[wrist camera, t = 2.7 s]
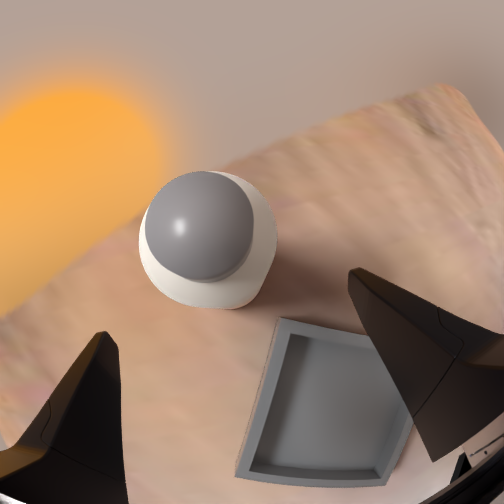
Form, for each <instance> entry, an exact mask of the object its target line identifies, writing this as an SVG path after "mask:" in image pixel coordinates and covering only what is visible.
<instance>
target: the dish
mask: <svg viewBox="0 0 504 504" xmlns="http://www.w3.org/2000/svg"><path fill="white" fill-rule="evenodd" d="M413 423H414V422H413V420H412V417H411V415H410V413H409V411H408V409H407V407H406V405H405V403H404V401H403V399H402V397H401V395H400V393H399V391H398V389H397V387H396V385H395V384H394V382H393V380H392V378H391V376H390V374H389V372H388V370H387V368H386V367H385V365H384V363H383V361H382V359H381V357H380V355H379V354H378V352H377V350H376V348H375V346H374V345H373V343H372V341H371V339H370V338H369V336H366V335H360V334H355V333H350V332H345V331H340V330H335V329H330V328H325V327H321V326H316V325H311V324H307V323H302V322H298V321H293V320H289V319H285V318H280V317H278V318H277V322H276V326H275V329H274V333H273V337H272V341H271V345H270V349H269V352H268V356H267V360H266V363H265V367H264V371H263V374H262V378H261V381H260V385H259V389H258V392H257V395H256V399H255V402H254V406H253V409H252V413H251V416H250V419H249V423H248V426H247V429H246V432H245V436H244V439H243V442H242V445H241V449H240V452H239V455H238V458H237V461H236V468H235V477H237V478H243V479H248V480H254V481H260V482H267V483H274V484H282V485H292V486H305V487H326V488H353V487H373V486H385V485H386V483H387V481H388V479H389V477H390V475H391V473H392V471H393V469H394V467H395V465H396V463H397V461H398V459H399V457H400V454H401V452H402V450H403V448H404V445H405V443H406V441H407V438H408V436H409V433H410V431H411V428H412V425H413Z"/></svg>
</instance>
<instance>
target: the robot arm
mask: <svg viewBox="0 0 504 504" xmlns="http://www.w3.org/2000/svg"><path fill="white" fill-rule="evenodd" d="M348 292H349V295H350V297H351V299H352V301H353V304H354V306H355V308H356V310H357V313H358V315H359V317H360V320H361V322H362V324H363V327H364V328H365V330H366V332H367V334H368V336H369V338H370V339H371V341H372V343H373V345H374V346H375V348H376V350H377V352H378V354H379V355H380V357H381V359H382V361H383V363H384V365H385V367H386V368H387V370H388V372H389V374H390V376H391V378H392V380H393V382H394V384H395V385H396V387H397V389H398V391H399V393H400V395H401V397H402V399H403V401H404V403H405V405H406V407H407V409H408V411H409V413H410V415H411V417H412V420H413V422H414V424H415V426H416V428H417V430H418V432H419V434H420V436H421V438H422V441H423V443H424V445H425V447H426V449H427V452H428V454H429V456H430V458H431V460H432V462H435V461H437V460H438V459H440V458H442V457H443V456H445V455H447V454H448V453H450V452H451V451H453V450H454V449H456V448H457V447H459V446H460V445H462V447H463V449H464V451H465V452H464V453H462V454H461V455H460V456H459V458H458V461H457V464H456V467H455V470H454V473H453V476H452V479H451V481H450V485H448V486H447V487H445V488H444V489H442V490H441V491H439V492H438V493H436V494H434V495H433V496H431V497H429V498H428V499H426V500H424V501H423V502H421V503H419V504H504V334H498V333H495V332H492V331H490V330H488V329H485V328H483V327H481V326H478V325H476V324H474V323H471V322H469V321H467V320H464V319H462V318H460V317H458V316H456V315H454V314H452V313H450V312H448V311H446V310H444V309H442V308H440V307H437V306H436V305H434V304H432V303H430V302H428V301H426V300H424V299H422V298H420V297H419V296H417V295H415V294H413V293H411V292H409V291H407V290H405V289H403V288H401V287H399V286H397V285H395V284H393V283H391V282H389V281H387V280H385V279H383V278H381V277H379V276H377V275H375V274H373V273H371V272H369V271H367V270H364V269H362V268H360V267H359V268H355V269H352V270H350V271H349V274H348ZM125 482H126V480H125V471H124V460H123V447H122V427H121V378H120V365H119V350H118V346H117V344H116V343H115V342H114V340H113V339H112V338H111V336H110V335H109V334H108V332H106V331H102V332H98V333H96V334H95V335H94V336H93V338H92V339H91V340H90V342H89V343H88V344H87V346H86V347H85V348H84V350H83V351H82V352H81V354H80V355H79V356H78V358H77V359H76V360H75V362H74V363H73V364H72V366H71V367H70V369H69V370H68V371H67V373H66V374H65V375H64V377H63V378H62V380H61V381H60V383H59V384H58V385H57V387H56V388H55V390H54V391H53V393H52V394H51V396H50V397H49V399H48V400H47V401H46V403H45V404H44V406H43V407H42V409H41V410H40V412H39V413H38V415H37V416H36V417H35V419H34V420H33V421H32V423H31V424H30V425H29V427H28V428H27V429H26V431H25V432H24V433H23V435H22V436H21V437H20V439H19V440H18V441H17V443H16V444H15V445H14V446H12V447H11V448H9V449H6V450H3V451H0V504H129V502H128V495H127V488H126V483H125Z"/></svg>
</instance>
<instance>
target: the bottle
mask: <svg viewBox="0 0 504 504" xmlns="http://www.w3.org/2000/svg"><path fill="white" fill-rule="evenodd" d="M276 247H277V226H276V221H275V217H274V215H273V212H272V209H271V207H270V206H269V204H268V202H267V200H266V199H265V198H264V196H263V195H262V194H261V193H260V192H259V191H258V190H257V189H256V188H255V187H254V186H252V185H251V184H250V183H249V182H247V181H245V180H243V179H242V178H239V177H237V176H235V175H232V174H228V173H223V172H216V171H207V172H205V171H200V172H192V173H188V174H185V175H182V176H179V177H177V178H175V179H174V180H172V181H170V182H169V183H167V184H166V185H165V186H164V187H163V188H162V189H161V190H160V191H159V192H158V193H157V195H156V196H155V197H154V199H153V200H152V202H151V204H150V206H149V207H148V209H147V211H146V213H145V215H144V218H143V220H142V224H141V227H140V234H139V251H140V257H141V261H142V264H143V266H144V269H145V271H146V273H147V275H148V276H149V278H150V280H151V281H152V282H153V284H154V285H155V286H156V287H157V288H158V289H159V290H160V291H161V292H162V293H164V294H165V295H166V296H168V297H169V298H171V299H173V300H175V301H177V302H179V303H182V304H184V305H188V306H193V307H201V308H216V309H236V308H240V307H242V306H244V305H246V304H248V303H249V302H251V301H252V300H253V299H254V298H255V297H256V295H257V294H258V292H259V291H260V288H261V286H262V284H263V282H264V280H265V277H266V275H267V273H268V271H269V269H270V266H271V264H272V262H273V259H274V256H275V253H276Z"/></svg>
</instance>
